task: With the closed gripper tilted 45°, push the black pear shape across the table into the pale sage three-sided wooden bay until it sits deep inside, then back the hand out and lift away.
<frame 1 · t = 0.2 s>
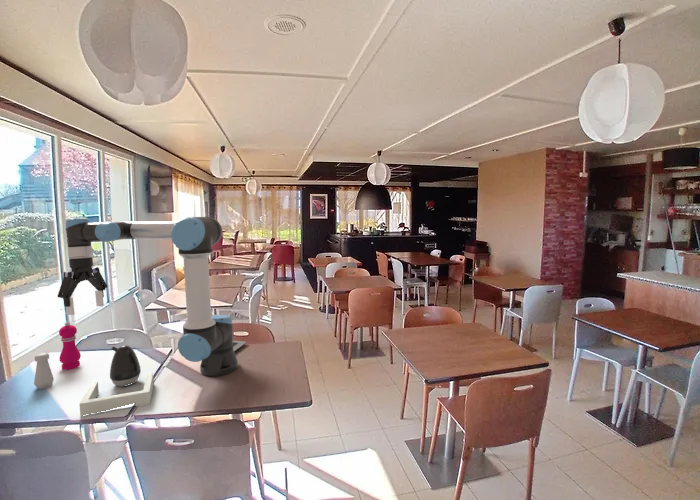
hand: (86, 310, 146), 27 cm above the table, tool pointing down, fingers open, 13 cm apart
salt shaker: (44, 387, 140), on the table
pepper mill: (71, 367, 157), on the table
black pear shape: (126, 383, 143), on the table
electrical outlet: (230, 350, 179), on the table
bay: (120, 397, 132), on the table
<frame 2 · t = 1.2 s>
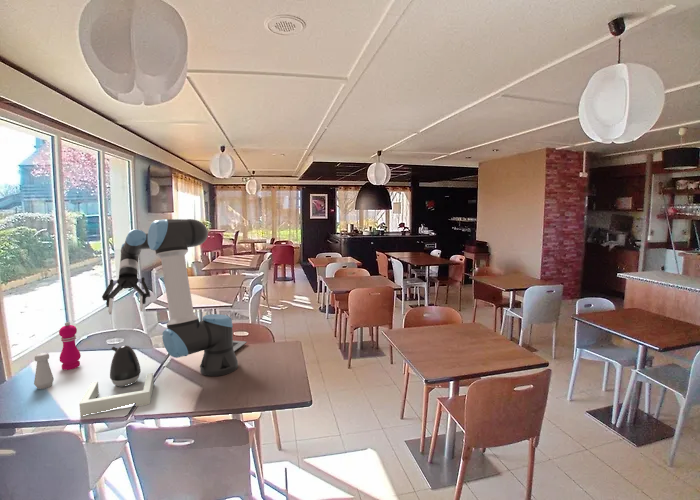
hand: (125, 311, 160), 23 cm above the table, tool tilted 45°, fingers open, 11 cm apart
nothing on the table moved.
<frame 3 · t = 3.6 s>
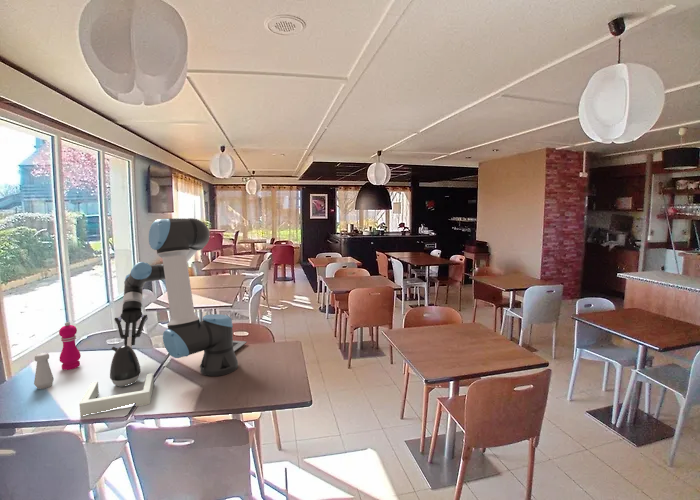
hand: (129, 352, 154), 8 cm above the table, tool tilted 45°, fingers closed
nothing on the table moved.
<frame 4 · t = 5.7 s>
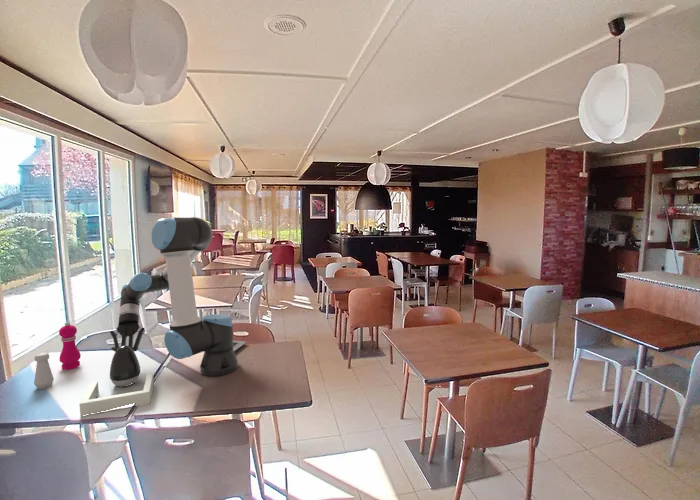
hand: (125, 367, 147), 4 cm above the table, tool tilted 45°, fingers closed
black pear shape: (125, 384, 143), on the table, touching gripper
everything else where it was.
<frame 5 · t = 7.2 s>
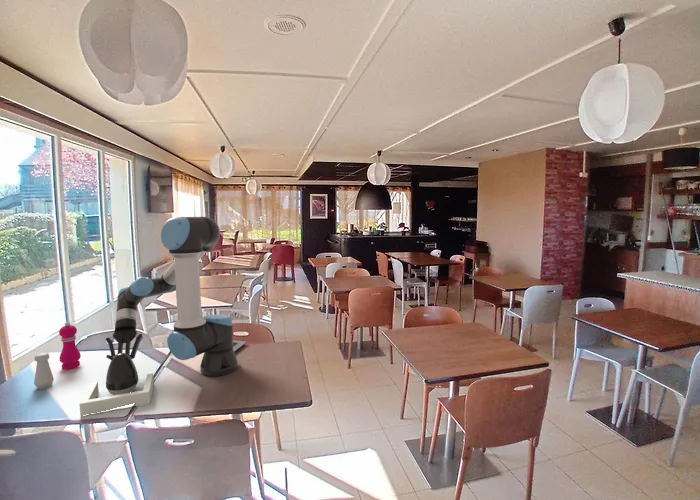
hand: (121, 376, 139), 4 cm above the table, tool tilted 45°, fingers closed
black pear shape: (122, 392, 135), on the table, touching gripper
everything else where it was.
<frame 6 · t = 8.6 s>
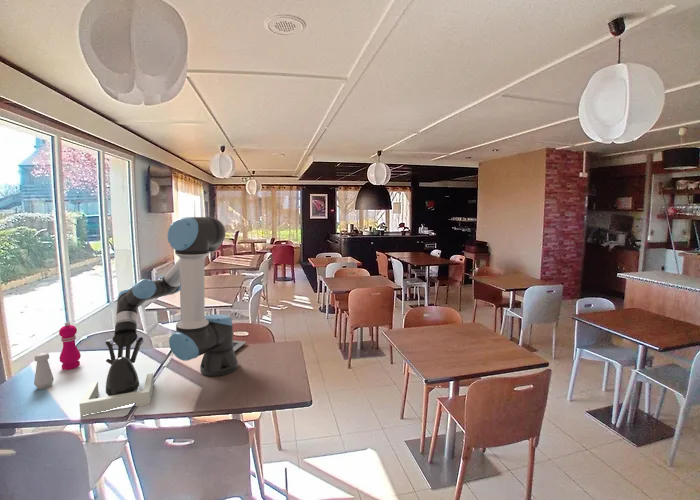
hand: (122, 381, 136), 4 cm above the table, tool tilted 45°, fingers closed
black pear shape: (123, 398, 132), on the table, touching gripper
everything else where it was.
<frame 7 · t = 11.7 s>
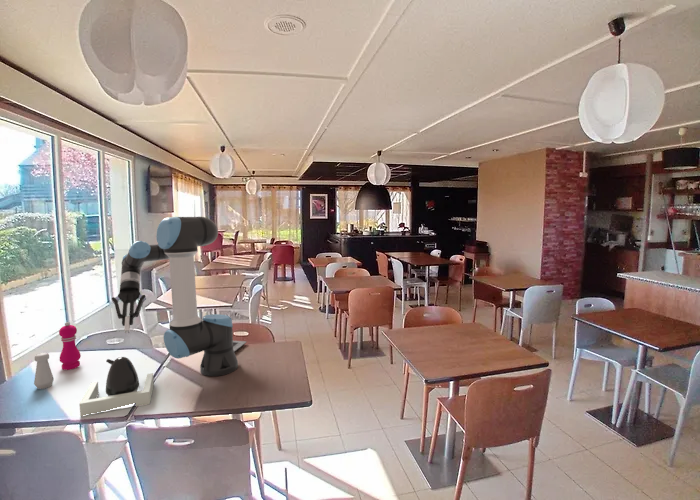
hand: (126, 331, 150), 18 cm above the table, tool tilted 45°, fingers closed
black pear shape: (123, 398, 132), on the table
everything else where it was.
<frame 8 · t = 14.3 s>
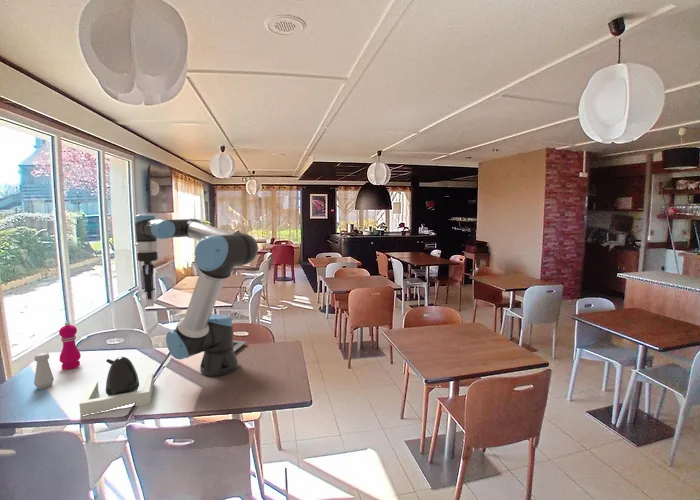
hand: (150, 306, 157), 26 cm above the table, tool pointing down, fingers closed
nothing on the table moved.
at the end: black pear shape inside the target area on the bay (1.0 cm from its centre), point 0.0 cm above the bay's base; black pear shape tilted 0°; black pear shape moved 12.5 cm from its start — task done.
